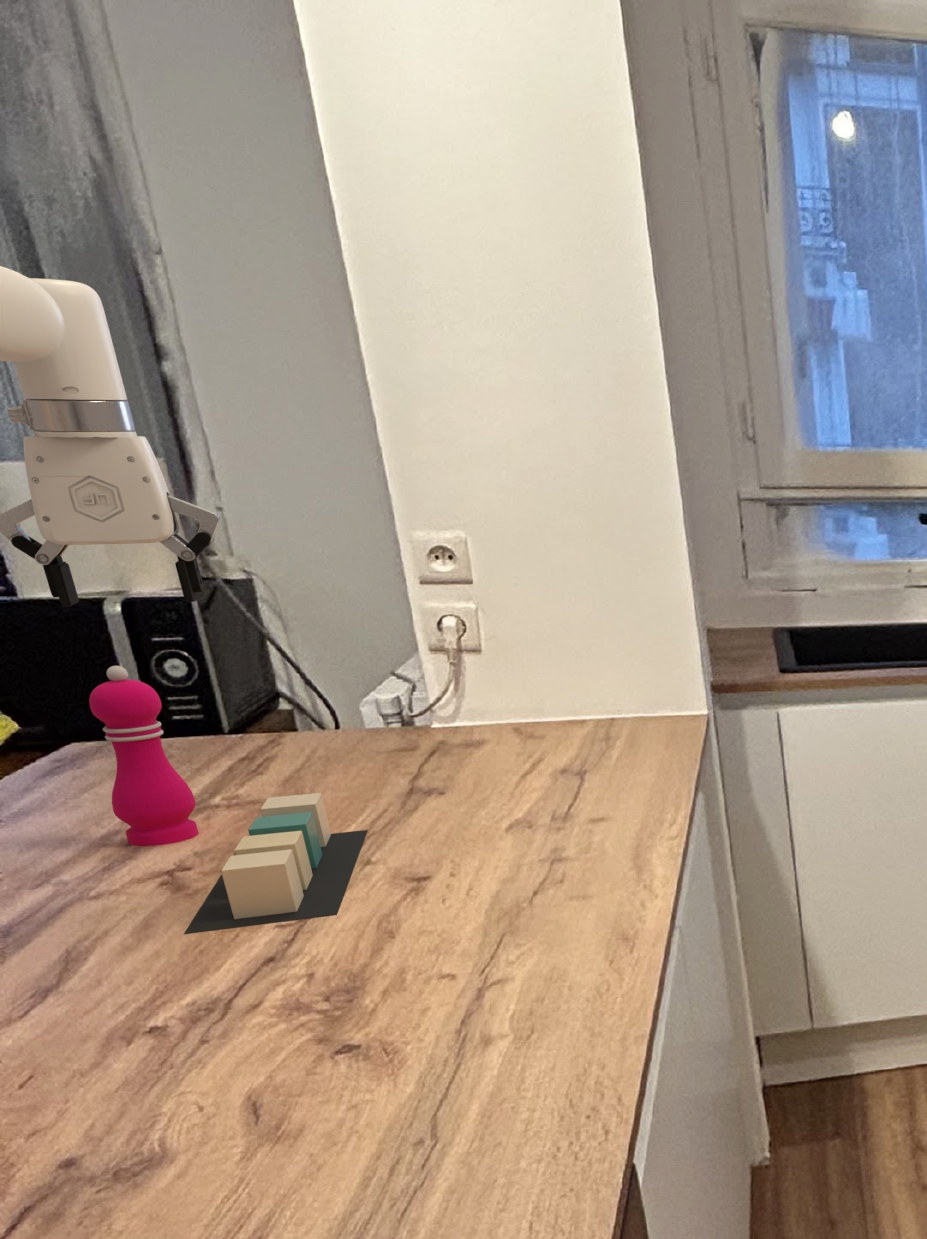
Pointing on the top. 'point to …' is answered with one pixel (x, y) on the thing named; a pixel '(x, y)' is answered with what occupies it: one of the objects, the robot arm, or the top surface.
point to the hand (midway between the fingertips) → (132, 602)
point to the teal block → (290, 824)
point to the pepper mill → (142, 763)
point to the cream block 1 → (301, 811)
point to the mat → (317, 898)
